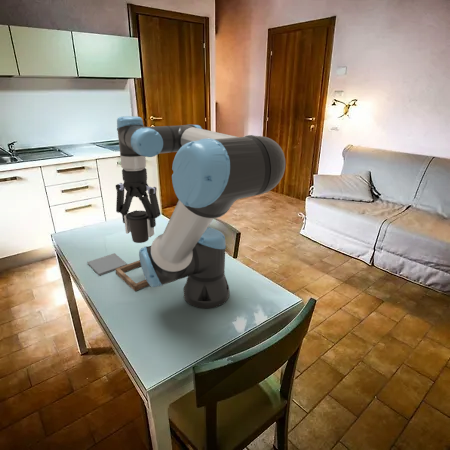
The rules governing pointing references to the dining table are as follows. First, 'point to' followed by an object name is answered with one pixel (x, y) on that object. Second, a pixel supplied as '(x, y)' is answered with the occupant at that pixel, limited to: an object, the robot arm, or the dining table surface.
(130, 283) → the wooden square frame
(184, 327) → the dining table surface
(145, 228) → the coffee cup
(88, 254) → the dining table surface
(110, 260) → the pad
